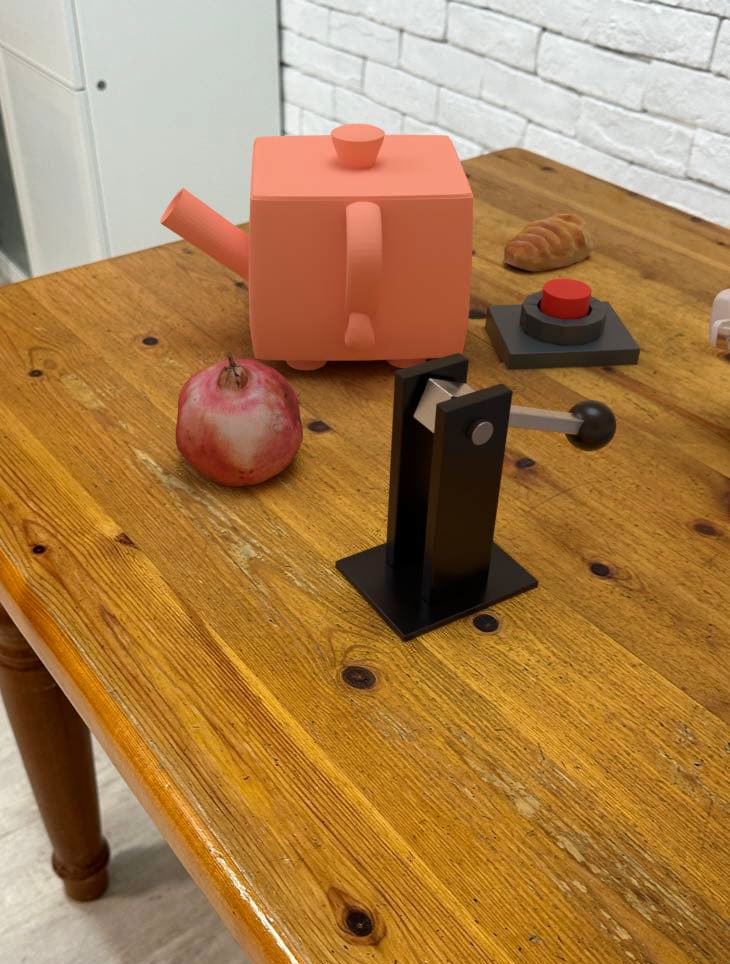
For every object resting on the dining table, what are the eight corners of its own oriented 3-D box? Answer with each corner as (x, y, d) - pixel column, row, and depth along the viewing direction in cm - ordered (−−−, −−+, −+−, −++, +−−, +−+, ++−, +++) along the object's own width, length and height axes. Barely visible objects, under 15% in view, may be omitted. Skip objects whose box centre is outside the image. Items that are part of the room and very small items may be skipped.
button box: (604, 323, 95) (611, 281, 92) (635, 372, 88) (645, 329, 85) (484, 327, 94) (489, 286, 92) (507, 377, 87) (512, 334, 85)
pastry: (537, 283, 101) (542, 245, 99) (484, 262, 105) (488, 225, 103) (596, 257, 106) (602, 220, 104) (544, 238, 110) (549, 202, 108)
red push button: (580, 299, 90) (584, 277, 89) (593, 320, 87) (597, 298, 86) (535, 301, 90) (538, 279, 89) (546, 322, 87) (550, 299, 86)
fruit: (228, 421, 82) (221, 302, 75) (328, 460, 77) (329, 338, 71) (148, 476, 76) (133, 352, 69) (252, 522, 71) (245, 394, 65)
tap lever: (578, 438, 68) (600, 393, 67) (612, 462, 66) (635, 416, 65) (405, 418, 59) (426, 367, 58) (437, 446, 57) (460, 393, 56)
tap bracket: (461, 527, 71) (482, 329, 62) (536, 595, 66) (572, 389, 56) (334, 575, 67) (337, 371, 58) (403, 651, 62) (418, 439, 52)
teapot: (160, 405, 83) (135, 182, 72) (181, 283, 101) (163, 89, 90) (472, 400, 84) (495, 178, 73) (438, 280, 102) (453, 87, 91)
